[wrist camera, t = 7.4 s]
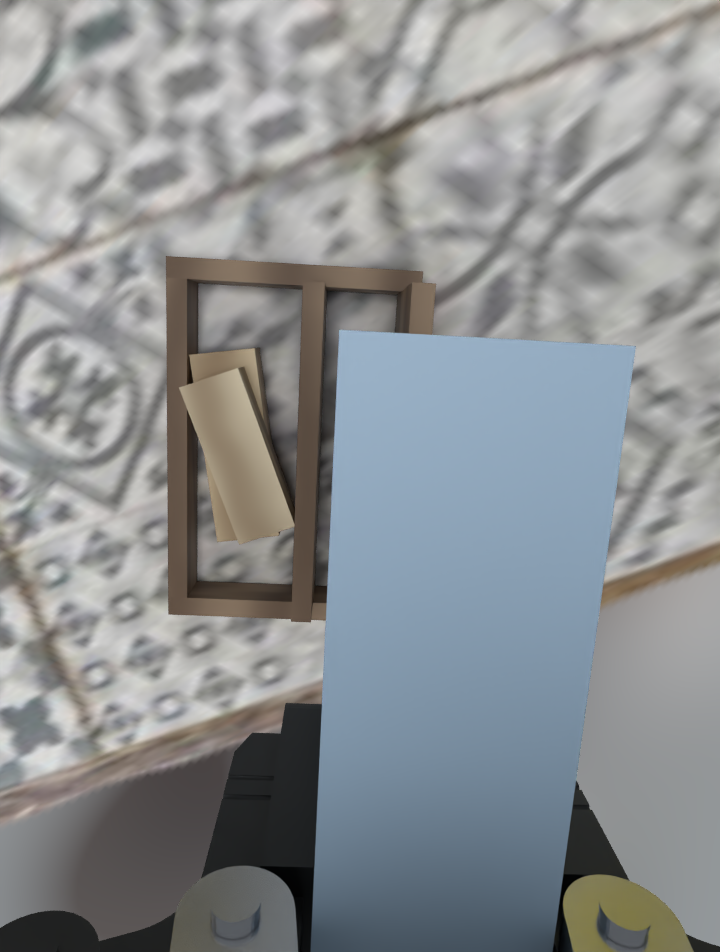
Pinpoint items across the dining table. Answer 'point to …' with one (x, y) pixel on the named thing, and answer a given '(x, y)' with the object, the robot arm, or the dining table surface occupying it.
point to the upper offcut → (240, 454)
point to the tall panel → (459, 634)
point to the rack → (182, 341)
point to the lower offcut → (251, 361)
